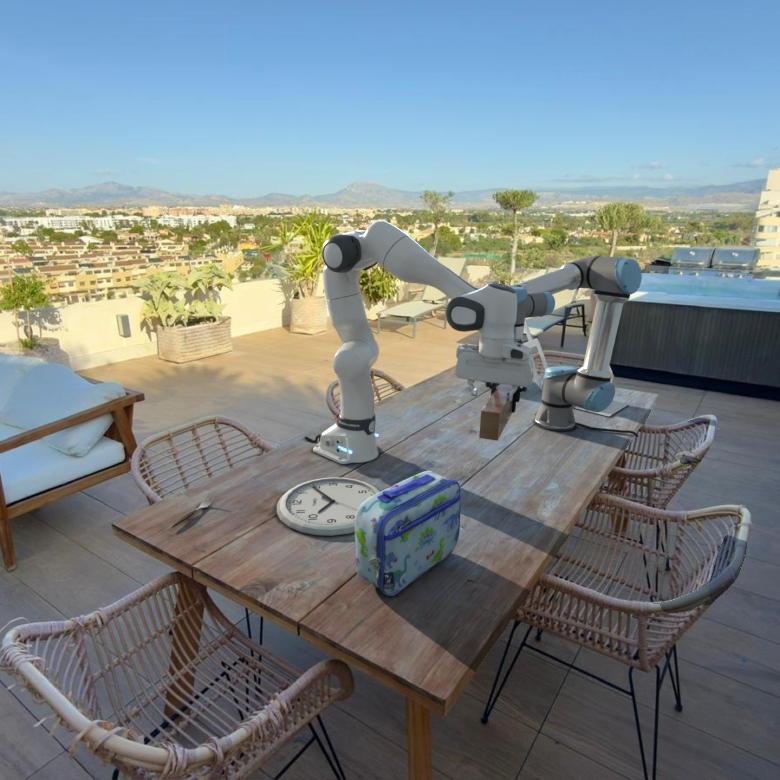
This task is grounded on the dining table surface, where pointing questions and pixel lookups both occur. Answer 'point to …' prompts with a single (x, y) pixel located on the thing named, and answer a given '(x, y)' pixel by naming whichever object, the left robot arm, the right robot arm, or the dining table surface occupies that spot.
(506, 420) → the bar
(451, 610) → the dining table surface
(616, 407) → the invitation card
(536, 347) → the white plastic object
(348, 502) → the wall clock
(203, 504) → the fork
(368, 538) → the lunch box
